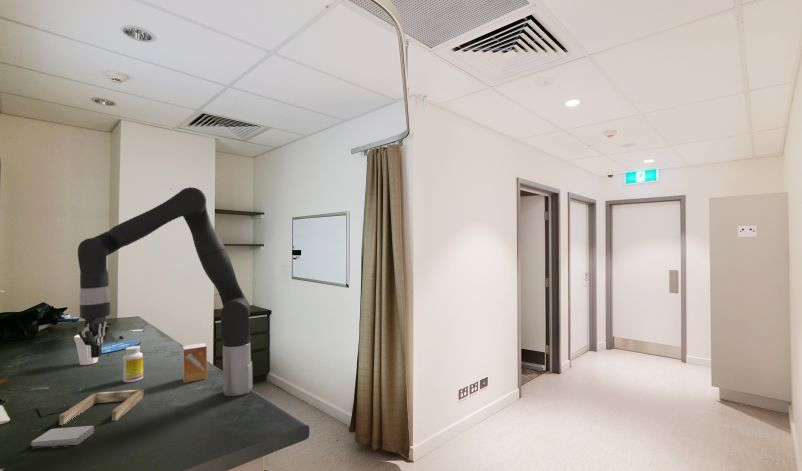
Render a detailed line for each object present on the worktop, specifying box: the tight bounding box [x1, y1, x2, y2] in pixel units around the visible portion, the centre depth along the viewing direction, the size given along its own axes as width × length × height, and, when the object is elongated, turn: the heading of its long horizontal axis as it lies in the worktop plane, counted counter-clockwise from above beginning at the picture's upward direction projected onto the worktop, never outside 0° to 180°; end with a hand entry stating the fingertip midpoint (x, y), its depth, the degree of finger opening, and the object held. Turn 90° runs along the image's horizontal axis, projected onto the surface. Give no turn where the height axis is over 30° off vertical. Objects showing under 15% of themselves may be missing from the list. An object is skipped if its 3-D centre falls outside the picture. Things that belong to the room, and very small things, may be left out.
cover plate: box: [30, 425, 95, 447], centre depth 107 cm, size 11×7×2 cm, turn 98°
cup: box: [73, 334, 99, 366], centre depth 174 cm, size 10×10×13 cm
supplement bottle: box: [122, 345, 144, 383], centre depth 152 cm, size 7×7×13 cm
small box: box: [182, 342, 208, 384], centre depth 152 cm, size 8×6×13 cm
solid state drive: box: [57, 403, 71, 413], centre depth 127 cm, size 7×10×1 cm
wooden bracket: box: [58, 388, 145, 426], centre depth 125 cm, size 15×17×3 cm
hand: (96, 356), depth 121 cm, fingers closed
